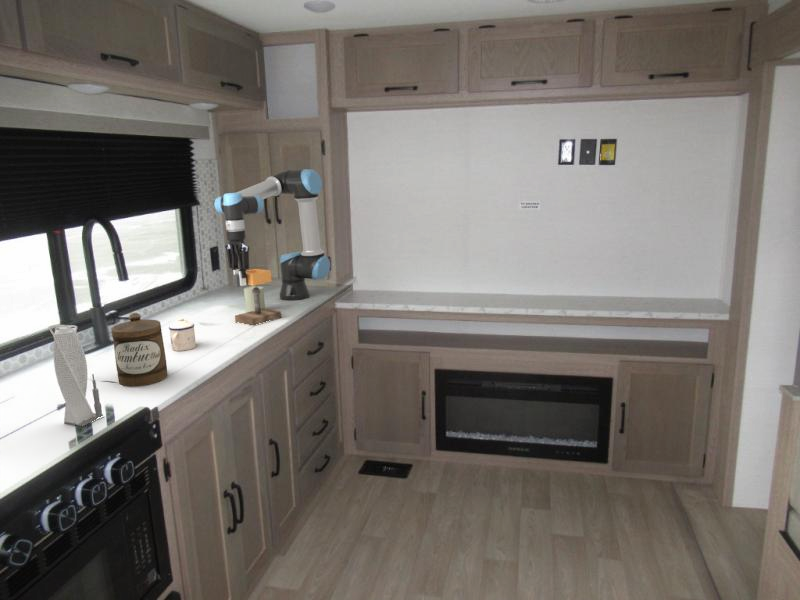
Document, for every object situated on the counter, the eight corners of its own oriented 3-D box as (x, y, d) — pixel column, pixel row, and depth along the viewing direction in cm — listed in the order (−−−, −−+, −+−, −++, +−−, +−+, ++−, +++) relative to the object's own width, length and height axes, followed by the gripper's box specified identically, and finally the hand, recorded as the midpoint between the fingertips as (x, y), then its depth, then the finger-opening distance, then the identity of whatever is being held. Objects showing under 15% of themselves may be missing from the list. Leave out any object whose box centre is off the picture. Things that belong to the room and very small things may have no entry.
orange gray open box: (256, 279, 267) (255, 268, 266) (271, 281, 261) (270, 270, 260) (228, 285, 255) (227, 274, 254) (242, 288, 249) (241, 276, 248)
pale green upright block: (268, 309, 282) (266, 285, 280) (262, 314, 274) (259, 289, 271) (249, 309, 283) (247, 285, 281) (242, 314, 275) (240, 289, 272)
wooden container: (115, 389, 185) (105, 321, 180) (122, 374, 199) (113, 310, 194) (165, 383, 189) (157, 316, 184) (169, 368, 203) (161, 306, 198)
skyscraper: (78, 429, 157) (61, 327, 150) (56, 425, 160) (39, 324, 153) (104, 416, 164) (89, 318, 158) (83, 412, 167) (67, 316, 161)
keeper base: (263, 314, 274) (261, 283, 270) (281, 317, 266) (278, 285, 263) (235, 322, 261) (232, 289, 258) (253, 326, 254) (250, 292, 251)
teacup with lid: (177, 344, 231) (174, 315, 228) (200, 344, 230) (197, 315, 227) (163, 354, 219) (160, 323, 216) (187, 353, 218) (184, 323, 216)
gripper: (216, 230, 251) (221, 284, 256) (240, 232, 241) (245, 288, 246) (231, 228, 256) (235, 281, 262) (255, 230, 247) (259, 285, 252)
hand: (240, 285), depth 254 cm, fingers closed on orange gray open box, 3 cm apart
